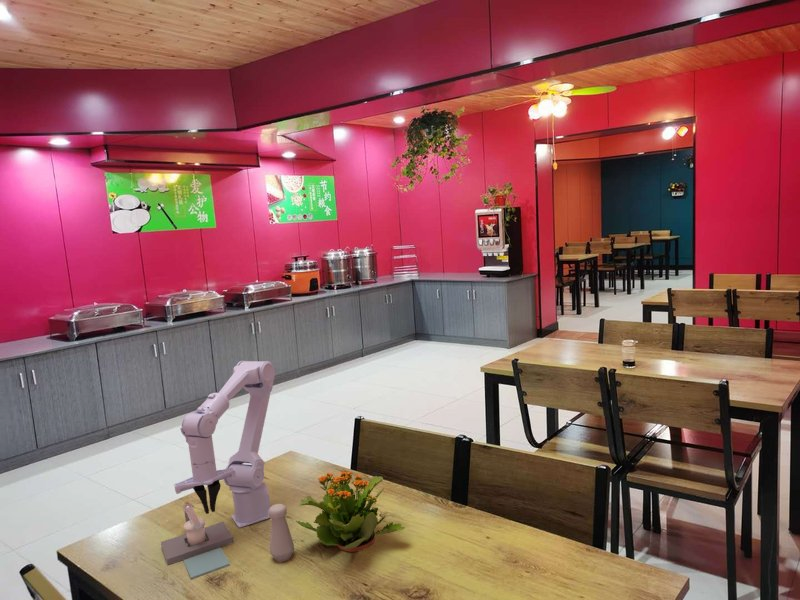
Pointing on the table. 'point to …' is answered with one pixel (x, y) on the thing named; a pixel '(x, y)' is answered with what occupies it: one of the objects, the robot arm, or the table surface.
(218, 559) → the mat
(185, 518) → the clip post
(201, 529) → the plug
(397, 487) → the table surface
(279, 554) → the salt shaker
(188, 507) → the clip
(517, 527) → the table surface
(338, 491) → the potted flower
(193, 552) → the socket block
